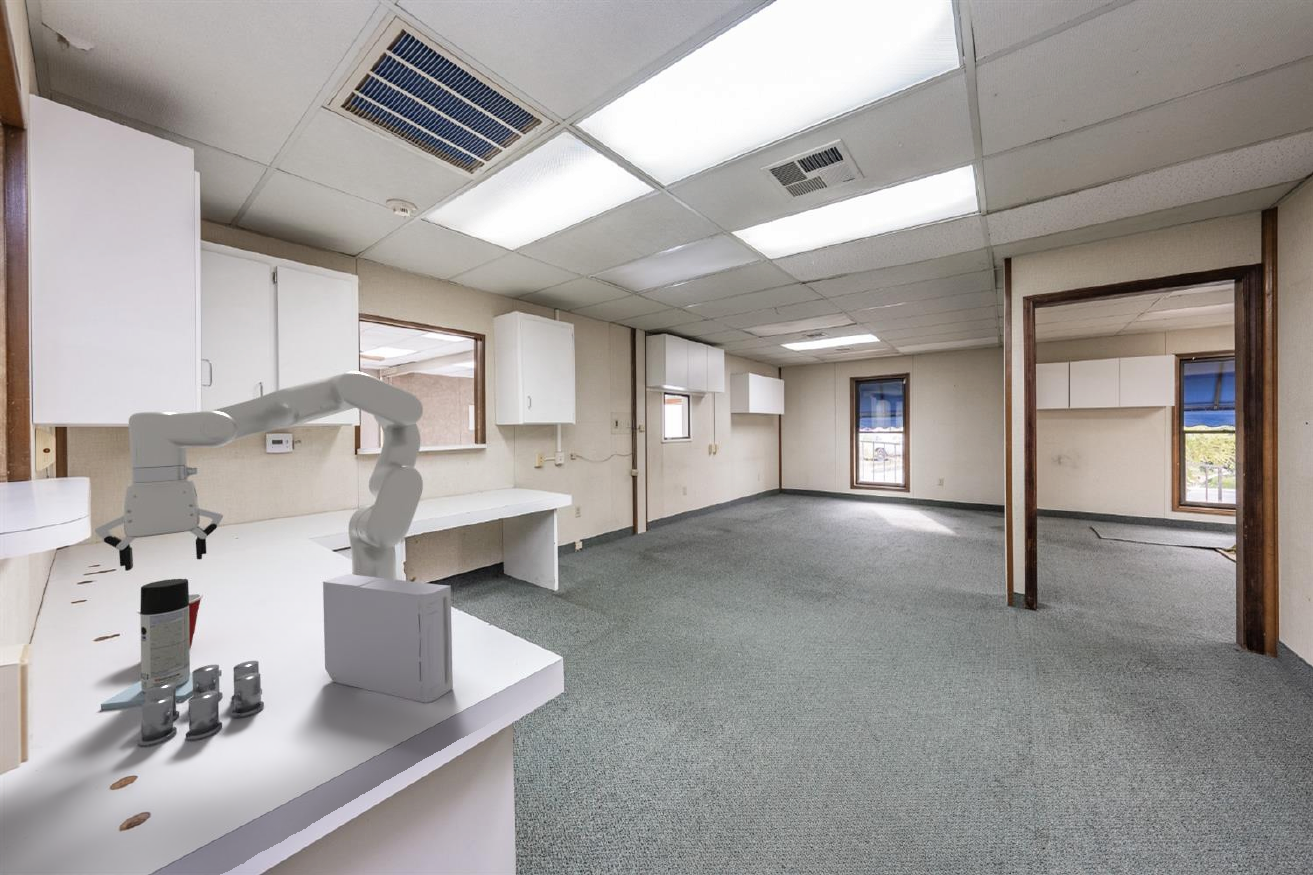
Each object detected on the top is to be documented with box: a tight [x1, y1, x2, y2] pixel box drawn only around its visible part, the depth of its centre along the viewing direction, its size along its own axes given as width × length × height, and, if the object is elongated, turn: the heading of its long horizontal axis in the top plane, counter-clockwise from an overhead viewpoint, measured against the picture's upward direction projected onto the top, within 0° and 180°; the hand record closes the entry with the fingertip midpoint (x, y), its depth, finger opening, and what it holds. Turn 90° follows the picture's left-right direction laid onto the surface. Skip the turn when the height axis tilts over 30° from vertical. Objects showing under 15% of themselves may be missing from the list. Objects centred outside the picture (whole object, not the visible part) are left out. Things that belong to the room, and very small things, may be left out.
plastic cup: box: [136, 593, 204, 649], centre depth 111 cm, size 11×11×12 cm
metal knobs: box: [137, 660, 265, 748], centre depth 85 cm, size 17×16×6 cm
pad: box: [100, 669, 222, 711], centre depth 94 cm, size 13×10×1 cm
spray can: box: [139, 578, 191, 694], centre depth 94 cm, size 7×7×20 cm
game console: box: [322, 573, 454, 704], centre depth 95 cm, size 6×27×20 cm, turn 70°
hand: (165, 563), depth 94 cm, fingers open, 9 cm apart
